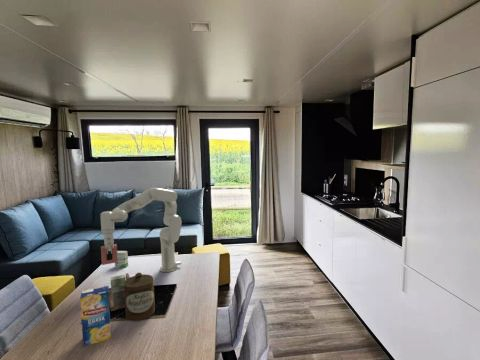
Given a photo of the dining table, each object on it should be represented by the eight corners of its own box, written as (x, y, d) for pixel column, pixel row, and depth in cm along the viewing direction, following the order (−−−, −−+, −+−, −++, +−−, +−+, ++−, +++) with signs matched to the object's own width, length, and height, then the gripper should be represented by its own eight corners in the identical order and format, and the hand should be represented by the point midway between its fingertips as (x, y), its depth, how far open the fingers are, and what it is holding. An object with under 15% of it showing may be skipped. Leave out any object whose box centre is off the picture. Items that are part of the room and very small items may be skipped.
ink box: (128, 265, 205) (127, 250, 204) (125, 267, 200) (124, 252, 199) (118, 265, 206) (117, 250, 205) (114, 267, 201) (113, 252, 200)
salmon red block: (117, 260, 172) (116, 243, 171) (117, 262, 168) (116, 245, 167) (101, 263, 167) (100, 246, 166) (101, 265, 164) (101, 248, 163)
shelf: (128, 288, 167) (128, 271, 166) (134, 304, 147) (133, 285, 146) (108, 293, 161) (107, 276, 160) (110, 311, 141) (109, 291, 140)
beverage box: (84, 337, 120) (81, 291, 118) (110, 330, 125) (108, 285, 123) (82, 346, 114) (80, 298, 112) (110, 338, 119) (108, 292, 117)
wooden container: (126, 324, 129) (124, 281, 127) (124, 309, 142) (122, 270, 140) (157, 316, 136) (155, 275, 134) (152, 302, 149) (151, 265, 147)
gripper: (115, 232, 161) (117, 261, 162) (113, 227, 175) (114, 253, 176) (101, 234, 157) (103, 264, 158) (100, 228, 172) (102, 255, 173)
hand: (109, 258), depth 167 cm, fingers closed on salmon red block, 4 cm apart
